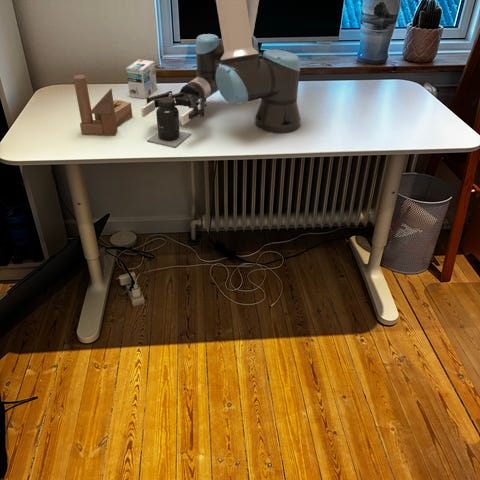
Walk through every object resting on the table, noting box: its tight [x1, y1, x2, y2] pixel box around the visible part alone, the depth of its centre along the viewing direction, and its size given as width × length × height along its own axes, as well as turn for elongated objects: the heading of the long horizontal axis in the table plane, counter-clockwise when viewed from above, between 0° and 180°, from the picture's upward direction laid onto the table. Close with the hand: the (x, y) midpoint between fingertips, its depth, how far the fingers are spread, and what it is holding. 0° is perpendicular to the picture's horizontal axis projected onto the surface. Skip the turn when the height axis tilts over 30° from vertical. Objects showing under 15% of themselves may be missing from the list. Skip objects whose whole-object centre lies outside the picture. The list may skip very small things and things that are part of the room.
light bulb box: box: [125, 59, 158, 100], centre depth 184 cm, size 11×7×11 cm, turn 164°
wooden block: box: [72, 74, 118, 136], centre depth 154 cm, size 4×11×18 cm, turn 87°
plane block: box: [94, 99, 134, 128], centre depth 164 cm, size 6×12×8 cm, turn 157°
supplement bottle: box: [155, 97, 180, 141], centre depth 153 cm, size 7×7×12 cm
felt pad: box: [146, 131, 192, 149], centre depth 157 cm, size 10×10×1 cm
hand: (162, 116), depth 149 cm, fingers open, 13 cm apart
